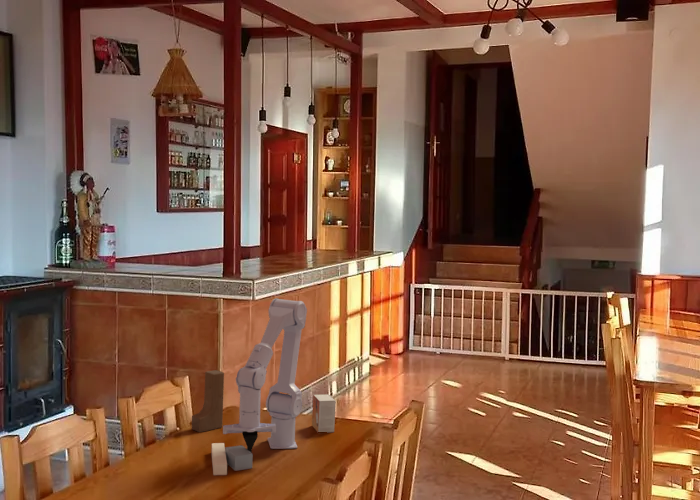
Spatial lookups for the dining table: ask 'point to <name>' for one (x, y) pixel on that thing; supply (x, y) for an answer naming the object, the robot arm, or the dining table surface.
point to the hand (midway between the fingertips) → (248, 457)
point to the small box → (323, 413)
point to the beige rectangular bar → (219, 459)
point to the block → (238, 457)
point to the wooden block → (211, 403)
